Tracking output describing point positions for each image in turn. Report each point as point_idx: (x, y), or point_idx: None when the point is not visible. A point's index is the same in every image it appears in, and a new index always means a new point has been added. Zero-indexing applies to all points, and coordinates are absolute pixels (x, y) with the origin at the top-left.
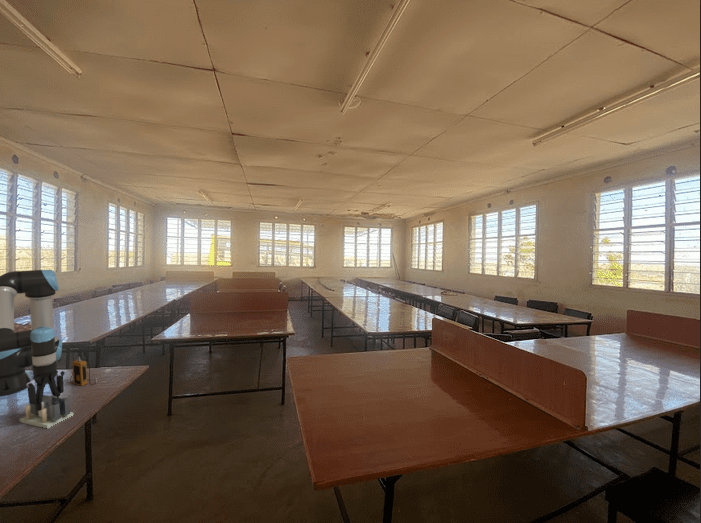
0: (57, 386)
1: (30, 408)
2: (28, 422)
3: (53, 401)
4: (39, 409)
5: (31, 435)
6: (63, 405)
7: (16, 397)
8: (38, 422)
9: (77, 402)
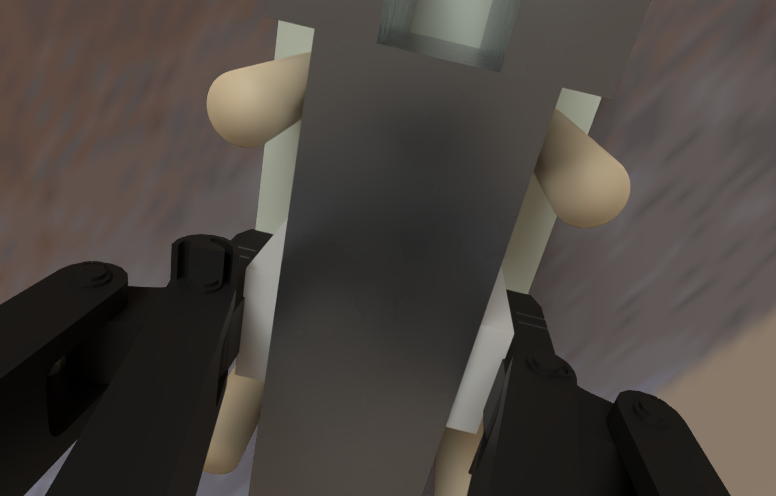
0: (27, 466)
1: (449, 456)
2: None
3: (462, 132)
4: (520, 303)
5: (751, 93)
6: None
7: None
8: (545, 212)
9: (55, 195)
